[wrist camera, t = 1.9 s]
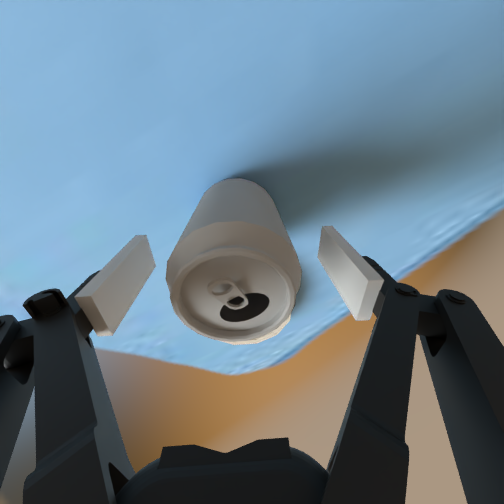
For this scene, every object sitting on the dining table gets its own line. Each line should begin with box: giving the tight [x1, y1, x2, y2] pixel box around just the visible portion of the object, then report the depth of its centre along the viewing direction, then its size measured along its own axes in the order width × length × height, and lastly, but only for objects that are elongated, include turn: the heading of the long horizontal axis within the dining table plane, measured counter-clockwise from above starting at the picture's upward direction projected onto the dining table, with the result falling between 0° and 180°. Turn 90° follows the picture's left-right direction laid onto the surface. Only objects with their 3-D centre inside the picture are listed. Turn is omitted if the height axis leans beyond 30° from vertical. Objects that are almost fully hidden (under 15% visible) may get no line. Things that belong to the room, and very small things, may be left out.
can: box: [166, 178, 302, 342], centre depth 15 cm, size 8×8×12 cm
